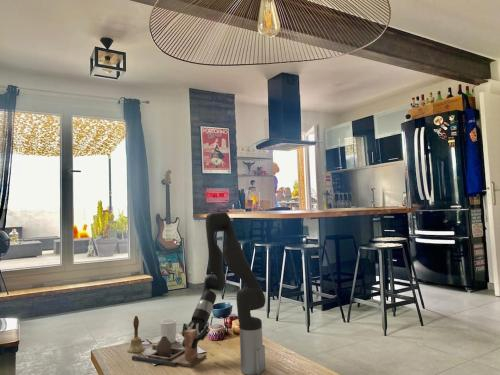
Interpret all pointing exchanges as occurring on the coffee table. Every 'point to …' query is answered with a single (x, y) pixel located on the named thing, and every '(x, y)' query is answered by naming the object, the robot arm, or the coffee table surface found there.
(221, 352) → the coffee table surface
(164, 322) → the white cup
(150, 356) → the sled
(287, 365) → the coffee table surface
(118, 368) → the coffee table surface
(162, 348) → the vase
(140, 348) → the hand bell
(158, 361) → the lane rails
